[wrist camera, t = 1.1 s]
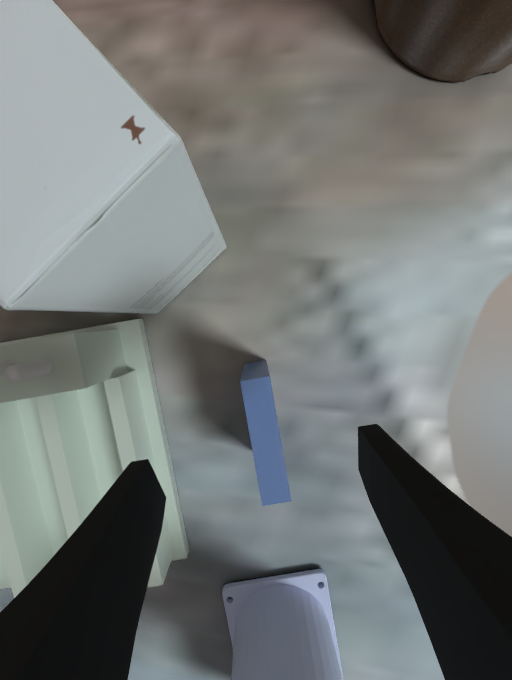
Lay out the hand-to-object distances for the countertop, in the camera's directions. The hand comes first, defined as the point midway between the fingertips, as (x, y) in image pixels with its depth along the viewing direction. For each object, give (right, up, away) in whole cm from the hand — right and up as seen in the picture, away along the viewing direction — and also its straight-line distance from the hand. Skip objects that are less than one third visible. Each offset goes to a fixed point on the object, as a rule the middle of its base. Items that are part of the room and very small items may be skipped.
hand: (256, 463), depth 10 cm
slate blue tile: (+1, -1, +12) cm, 12 cm away
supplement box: (-7, +11, +11) cm, 17 cm away
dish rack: (-15, -4, +12) cm, 19 cm away
